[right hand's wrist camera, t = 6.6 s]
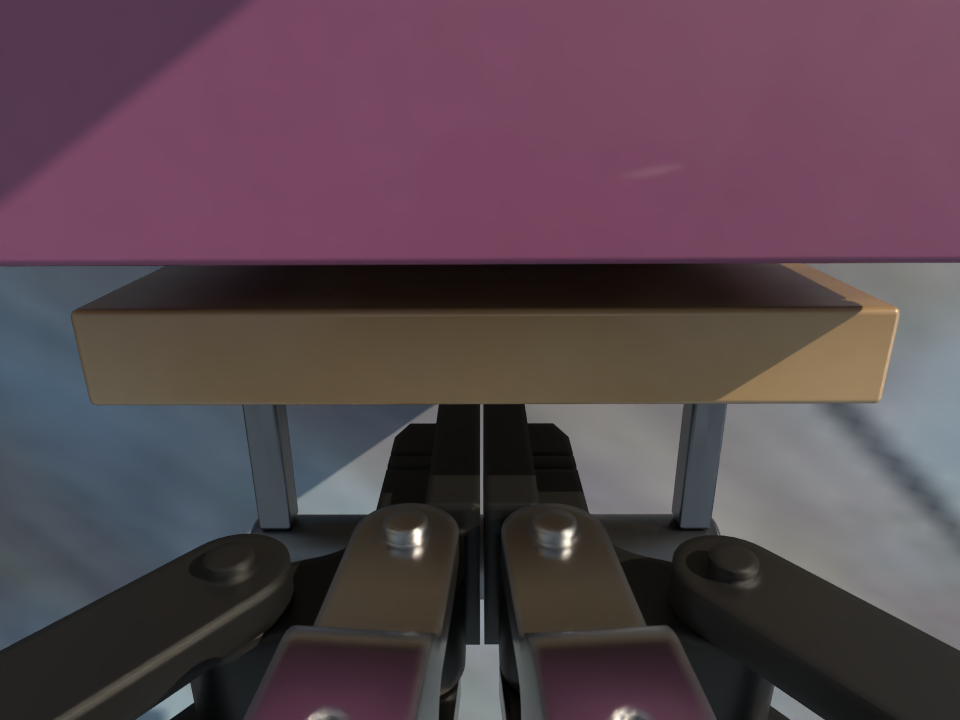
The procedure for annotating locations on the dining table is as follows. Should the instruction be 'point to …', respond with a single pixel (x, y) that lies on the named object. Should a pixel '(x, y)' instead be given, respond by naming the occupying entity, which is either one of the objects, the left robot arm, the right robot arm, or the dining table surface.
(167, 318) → the drawer
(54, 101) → the magenta rectangular box
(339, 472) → the dining table surface
